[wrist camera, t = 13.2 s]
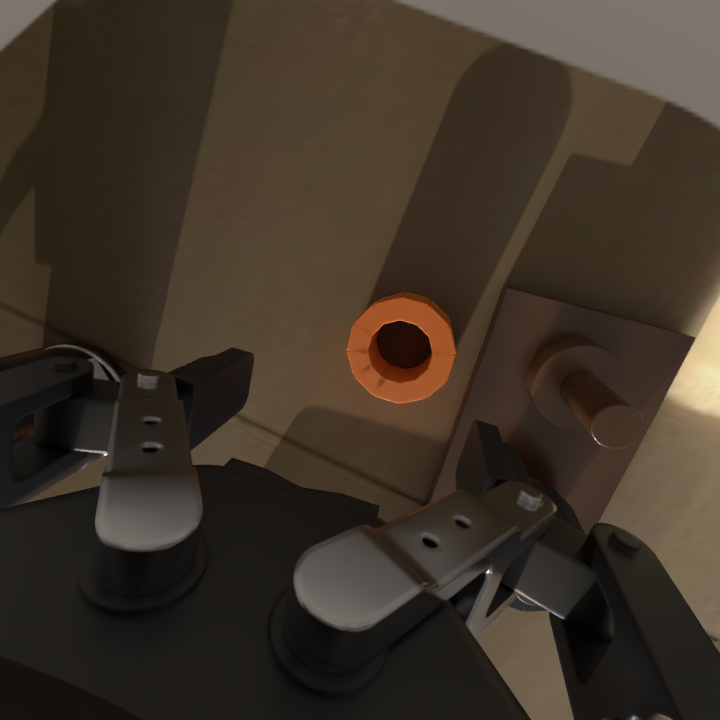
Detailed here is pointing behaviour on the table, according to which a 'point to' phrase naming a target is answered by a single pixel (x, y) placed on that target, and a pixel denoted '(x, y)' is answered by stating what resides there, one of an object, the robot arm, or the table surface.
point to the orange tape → (394, 379)
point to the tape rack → (566, 395)
